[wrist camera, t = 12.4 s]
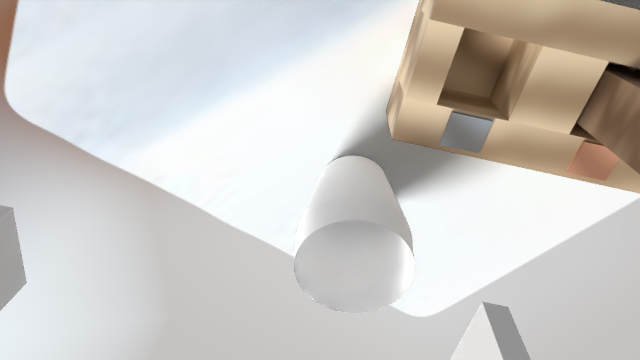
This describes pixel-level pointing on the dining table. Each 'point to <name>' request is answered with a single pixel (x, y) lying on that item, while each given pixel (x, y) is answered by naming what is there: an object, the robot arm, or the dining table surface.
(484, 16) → the box
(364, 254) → the cup
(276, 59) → the dining table surface
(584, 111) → the plug
